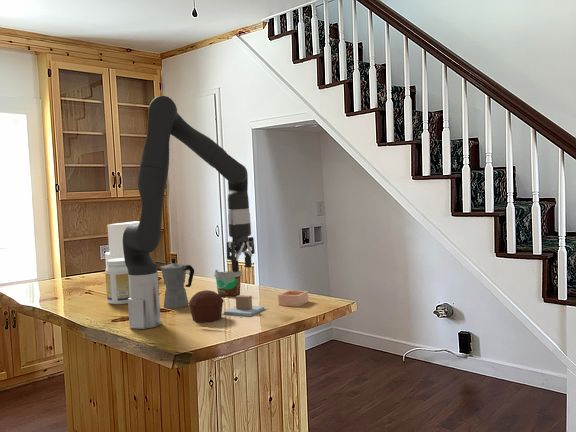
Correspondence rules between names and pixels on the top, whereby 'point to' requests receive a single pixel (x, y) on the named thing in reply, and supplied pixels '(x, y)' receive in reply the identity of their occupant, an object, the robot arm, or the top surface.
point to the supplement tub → (117, 281)
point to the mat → (246, 316)
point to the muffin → (206, 306)
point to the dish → (293, 298)
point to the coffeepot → (176, 284)
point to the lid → (244, 307)
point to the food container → (228, 283)
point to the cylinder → (116, 240)
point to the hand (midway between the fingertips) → (242, 269)
